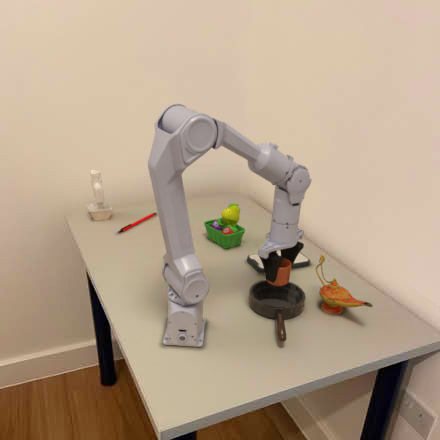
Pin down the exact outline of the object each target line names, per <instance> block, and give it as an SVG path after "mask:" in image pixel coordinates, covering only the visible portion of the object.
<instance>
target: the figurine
mask: <svg viewBox="0 0 440 440" xmlns="http://www.w3.org/2000/svg"><path fill="white" fill-rule="evenodd" d="M89 173H90V182H91V186H92V190H93V199H94V202H91V203H90V202H89V203H86V207H87V209H88V211H89V214H90V215H91V217H92V218H93V220H94V221H103V220H104V221H105V220H109V219H110V218H111V216H112V215H111V214H112V213H113V211H114V209H113V206H112V204H111V203H110V201H105V194H104V189H103V185H102V184H103V182H102V181H103V180H102V174H101V170H97V169H95V168H94V169H91V170H90V172H89Z"/></svg>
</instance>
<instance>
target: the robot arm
mask: <svg viewBox="0 0 440 440" xmlns="http://www.w3.org/2000/svg"><path fill="white" fill-rule="evenodd" d="M151 144H152V145H151V149H150V152H149V156H148V161H147V169H148V172H149V173H148V174H149V177H150V182H151V187H152V191H153V197H154V200H155V206H156V210H157V215H158V220H159V225H160V229H161V233H162V238H163V242H164V246H165V247H164V248H165V251H166V253H165V254H163V255H162V258H163V267H162V269H161V275H162V278H163V280H164V282H166V283H167V291H166V294H167V319H166V320H167V324H166V329H165V332H164V337H163V340H162V344H163V345H164V346H180V347H181V346H182V347H195V348H196V347H199V348H201V347H203V344H204V338H205V327H206V318H204V299H205V298H206V297H207V296H208V294H209V292H210V287H211V283H210V280H209V279H208V277H206V275H205V274H204V270H203V266H202V264H201V262H200V260H199V259H198V257H197V255H196V252H195V251H196V250H195V247H194V246H195V245H194V239H193V234H192V227H191V222H190V216H189V212H188V205H187V200H186V194H185V187H184V181H183V176H182V175H183V173H184V172H185V170H186V169H187V168H188V167H190V166H191V165H192V164H194V163H195V162H196V161H198V160H199V159H200V158H201V157H203V156H204V155H205V154H207V153H209V151H210V150H211V149H213V150H218V149H220V148H221V147H223V148H225V149H227V150H229V151H230V152H232V153H233V154H236V155H237V156H239V157H241V158H243V159H245V160H246V161H247V167H248V169H249V171H251V172H252V173H254V174H256V175H257V176H259V177H260V178H262V179H264V180H265V181H267V182H268V183H271V185H272V186H274V192H273V201H272V202H273V203H272V210H271V220H270V229H269V232H268V233H266V234H265V239H266V240H265V241H264V243H262V245H261V246H260V247H258V250H257V254H258V256H259V257H260V259H261V261H262V264H263V267H264V272H265V273H264V278H265V280H268V281H270V282H272V283H273V282H275V280H276V277H277V273H278V269H279V266H280V264H281V262H282V260H283V259H284V258H286V259H288V260H290V261H291V263H292V266H293V264H294V261H295V259H296V257H297V256H298V254H299V252H301V251H302V250H303V249H304V246H305V244H304V242H301V241H299V240H302V239H303V240H304V237H305V229H301V228H299V221H300V216H301V209H302V203H303V201H304V199H305V195H306V192H307V190H308V189H309V188H310V186H311V184H312V180H313V179H312V178H311V175H310V172H309V169H308V168H307V167H306V165H305V166H304V165H302V164H300V163H298V162H296V161H294V156H292V155H290V154H285V153H283V152H282V151H280V150H278V149H279V145H277V144H276V143H274V142H271V141H269V142H260V143H258V144H256V143H255V142H254V141H252V140H251V139H250V138H248V137H247V136H245V135H243V134H242V133H241V132H240V131H238V130H237V129H235V128H234V127H233V126H231V125H230V124H228V123H226V122H225V121H223V120H220V119H218V118H215V117H212V116H210V115H209V114H207V113H204V112H199V111H197V110H194V109H191V108H190V107H187V106H186V105H184V104H181V103H172V104H170V105H168V106H167V107H165V109H164V110H162V112H161V113H160V114H159V116H158V118H157V119H156V120H155V121H154V137H153V140H152V143H151ZM277 251H281V256H279V255H278V253H277ZM292 266H291V270H292V269H293V268H292Z"/></svg>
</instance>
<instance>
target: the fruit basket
mask: <svg viewBox="0 0 440 440" xmlns="http://www.w3.org/2000/svg"><path fill="white" fill-rule="evenodd" d="M240 214H241V208H240V207H239V204H238V203H235V202H231V203H230V204H228V206H227V207H226V208H225V209H223V210H222V211H221V213H220V215H221V217H219V218H214V219H210V220H207V221H204V222H203V225H204V227H205V231H206V234H207V238H208V240H210V241H212V242H214V243H215V244H217V245H219V246H220V247H222V248H224V249H225V250H228V249H231V248H234V247H236V246H240V245H241V242H242V239H243V236H244V234H245V232H246V228H245V227H243V226H241V225H239V224H238V223H239V221H240Z"/></svg>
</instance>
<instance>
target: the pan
mask: <svg viewBox="0 0 440 440" xmlns="http://www.w3.org/2000/svg"><path fill="white" fill-rule="evenodd" d="M305 302H306V293H305V291H304V290H303V289H302V287H300V286H299V285H297V284H295V283H294V282H291V281H289V283H287V284H286V285H284V286H274V285H271V284H270V283H268V281H267V280H266V279H262V280H258V281H256V282H255V283H253V285H251V286H250V288H249V293H248V304H249V307H250V308H251V309H252V310H253V311H254V312H255V313H257V314H259V315H261V316H262V317H266V318H269V319H275V320H276V310H282V312H283V316H284V320H286V319H291V318H294V317H296V316H297V315H300V314H301V313H302V312H303V311H304V307H305Z"/></svg>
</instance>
